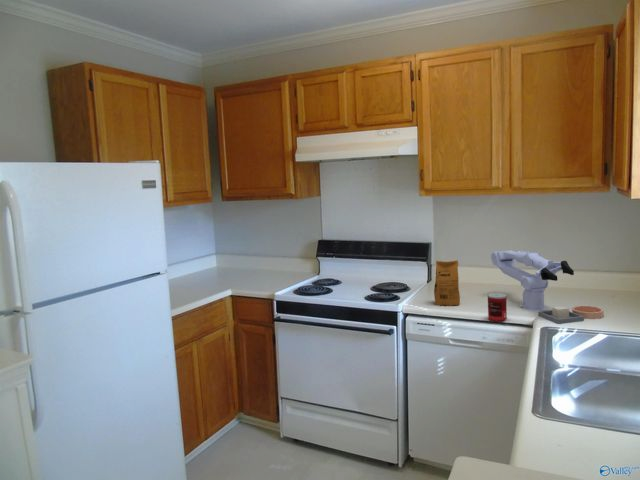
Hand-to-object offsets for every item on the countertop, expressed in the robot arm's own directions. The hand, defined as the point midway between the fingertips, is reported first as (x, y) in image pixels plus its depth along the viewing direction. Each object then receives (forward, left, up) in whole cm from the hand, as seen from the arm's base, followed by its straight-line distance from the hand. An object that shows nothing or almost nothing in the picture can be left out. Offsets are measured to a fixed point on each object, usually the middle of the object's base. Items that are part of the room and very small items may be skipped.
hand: (564, 275), depth 201 cm
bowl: (-2, +13, -19) cm, 23 cm away
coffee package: (-45, -32, -20) cm, 59 cm away
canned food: (-12, -24, -20) cm, 33 cm away
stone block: (-2, 0, -19) cm, 19 cm away
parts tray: (-2, 0, -19) cm, 20 cm away
